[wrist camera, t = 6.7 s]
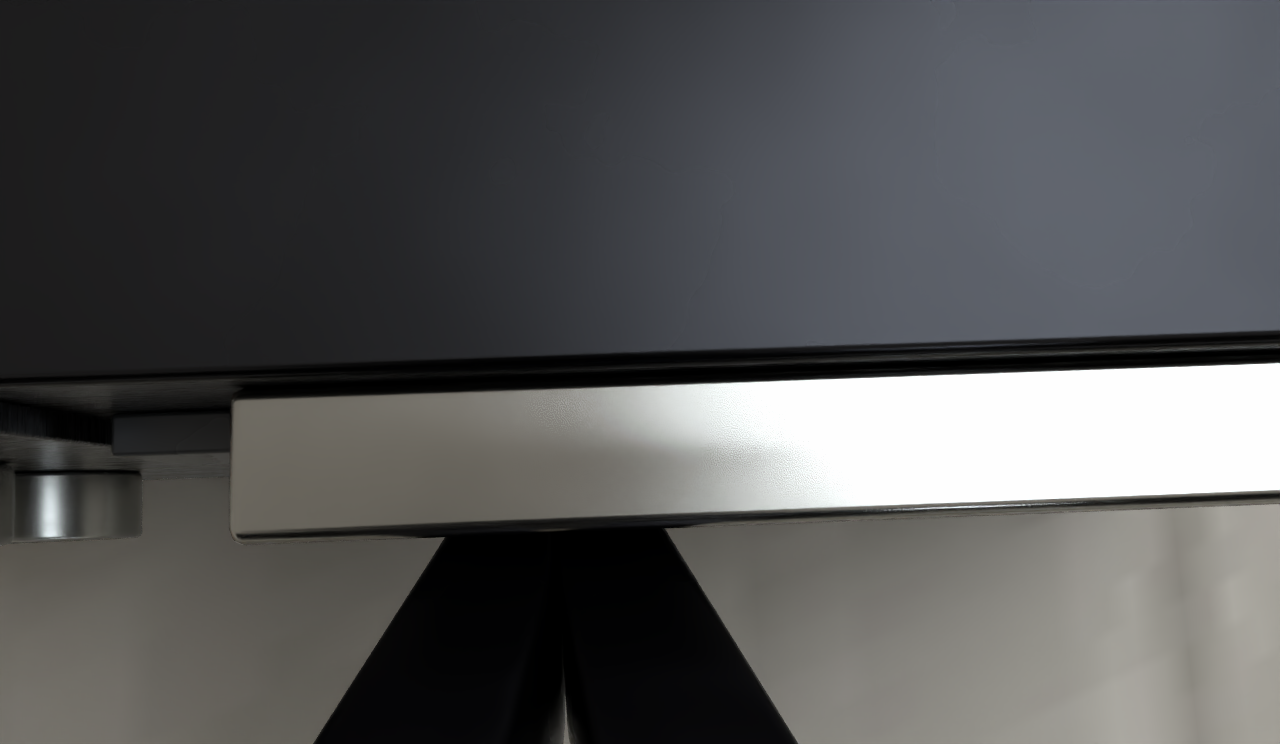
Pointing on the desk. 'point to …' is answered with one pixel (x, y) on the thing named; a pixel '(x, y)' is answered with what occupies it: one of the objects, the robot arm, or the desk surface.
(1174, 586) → the desk surface
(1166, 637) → the desk surface
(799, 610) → the desk surface
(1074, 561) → the desk surface
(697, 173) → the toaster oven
